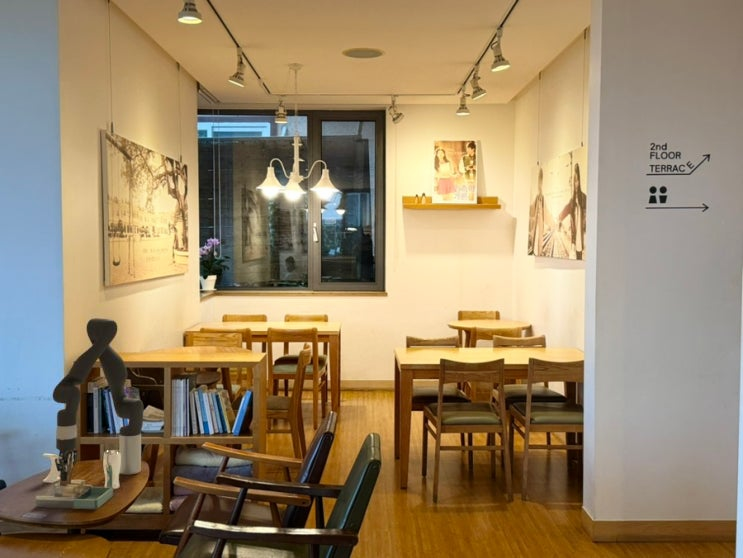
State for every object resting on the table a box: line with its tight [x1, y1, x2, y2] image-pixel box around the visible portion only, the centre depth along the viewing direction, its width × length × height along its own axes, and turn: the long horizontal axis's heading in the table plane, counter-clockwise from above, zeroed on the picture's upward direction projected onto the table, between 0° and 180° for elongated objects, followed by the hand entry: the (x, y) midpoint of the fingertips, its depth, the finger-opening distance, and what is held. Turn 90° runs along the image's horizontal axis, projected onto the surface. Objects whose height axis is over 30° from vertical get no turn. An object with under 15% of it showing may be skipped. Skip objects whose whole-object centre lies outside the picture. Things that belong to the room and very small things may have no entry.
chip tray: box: [74, 486, 114, 511], centre depth 272 cm, size 15×9×4 cm, turn 177°
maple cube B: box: [62, 485, 78, 497], centre depth 269 cm, size 4×4×4 cm
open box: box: [35, 483, 93, 510], centre depth 273 cm, size 15×15×4 cm
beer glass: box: [103, 449, 121, 490], centre depth 290 cm, size 7×7×15 cm
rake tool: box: [54, 461, 75, 497], centre depth 273 cm, size 11×3×12 cm, turn 176°
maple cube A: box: [70, 479, 86, 493], centre depth 276 cm, size 4×4×4 cm
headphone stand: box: [42, 453, 60, 484], centre depth 297 cm, size 5×6×12 cm
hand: (66, 479), depth 273 cm, fingers closed on rake tool, 3 cm apart
